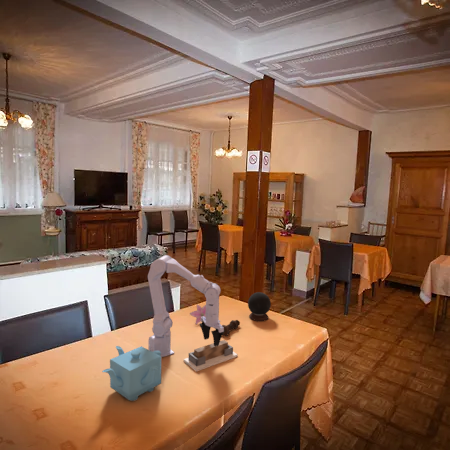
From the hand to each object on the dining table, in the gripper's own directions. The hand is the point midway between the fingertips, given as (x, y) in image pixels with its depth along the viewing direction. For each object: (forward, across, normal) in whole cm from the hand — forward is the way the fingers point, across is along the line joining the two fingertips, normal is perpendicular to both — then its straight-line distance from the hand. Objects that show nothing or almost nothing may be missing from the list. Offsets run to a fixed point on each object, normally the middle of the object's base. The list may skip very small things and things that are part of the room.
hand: (211, 342), depth 151 cm
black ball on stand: (+8, +23, -50) cm, 56 cm away
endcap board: (+8, 0, 0) cm, 8 cm away
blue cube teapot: (+8, -3, +37) cm, 38 cm away
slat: (+7, 0, 0) cm, 7 cm away
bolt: (+8, +18, -26) cm, 33 cm away
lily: (+8, +36, -19) cm, 41 cm away
